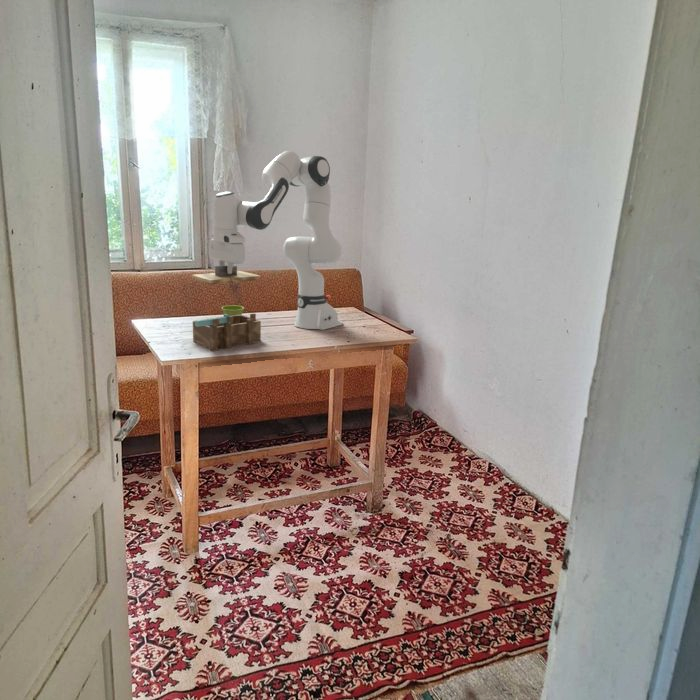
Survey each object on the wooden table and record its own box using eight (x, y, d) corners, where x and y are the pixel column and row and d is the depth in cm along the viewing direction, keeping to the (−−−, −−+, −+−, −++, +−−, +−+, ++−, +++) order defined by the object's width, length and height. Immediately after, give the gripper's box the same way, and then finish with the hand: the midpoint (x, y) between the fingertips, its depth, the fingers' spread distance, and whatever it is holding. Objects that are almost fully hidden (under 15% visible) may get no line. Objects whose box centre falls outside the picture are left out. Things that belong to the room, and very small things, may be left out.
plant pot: (244, 329, 255) (244, 309, 253) (221, 329, 253) (221, 309, 251) (243, 324, 264) (243, 305, 261) (221, 324, 262) (221, 305, 260)
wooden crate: (241, 333, 249) (240, 304, 245) (266, 342, 236) (266, 312, 233) (190, 341, 233) (189, 310, 230) (214, 351, 221) (214, 319, 218)
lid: (240, 275, 242) (240, 262, 241) (265, 281, 230) (265, 267, 229) (191, 279, 228) (190, 265, 226) (214, 286, 216) (214, 271, 214)
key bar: (226, 321, 226) (226, 313, 225) (229, 322, 224) (229, 315, 223) (194, 325, 217) (194, 318, 216) (198, 326, 215) (197, 319, 214)
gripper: (204, 234, 231) (205, 269, 235) (233, 239, 217) (233, 277, 220) (218, 233, 235) (219, 268, 239) (247, 238, 221) (247, 275, 224)
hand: (226, 272), depth 229 cm, fingers closed on lid, 2 cm apart
